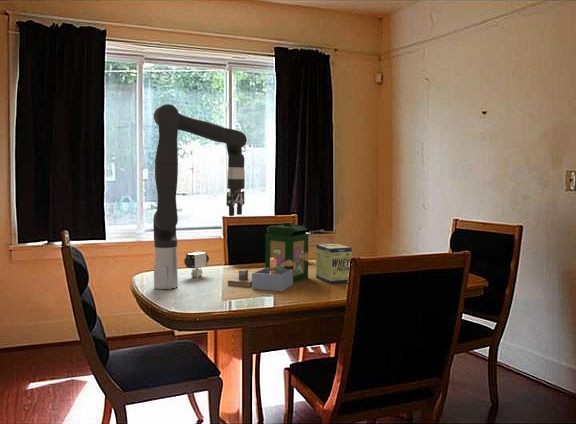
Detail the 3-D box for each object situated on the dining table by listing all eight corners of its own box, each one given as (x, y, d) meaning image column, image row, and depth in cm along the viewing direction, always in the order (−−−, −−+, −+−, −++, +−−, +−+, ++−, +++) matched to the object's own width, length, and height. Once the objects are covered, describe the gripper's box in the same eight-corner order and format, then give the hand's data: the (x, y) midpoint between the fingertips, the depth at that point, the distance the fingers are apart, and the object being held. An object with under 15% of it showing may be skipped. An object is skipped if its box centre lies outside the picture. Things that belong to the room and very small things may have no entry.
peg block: (282, 286, 235) (282, 259, 234) (268, 287, 233) (268, 259, 232) (278, 283, 241) (278, 256, 240) (264, 284, 239) (264, 257, 239)
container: (292, 283, 244) (292, 226, 242) (260, 278, 255) (260, 223, 253) (311, 278, 256) (311, 223, 254) (280, 273, 267) (280, 221, 265)
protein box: (330, 284, 243) (330, 248, 242) (315, 277, 257) (315, 244, 256) (352, 282, 247) (352, 247, 245) (335, 276, 261) (336, 243, 260)
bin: (281, 291, 229) (281, 275, 228) (252, 288, 233) (252, 273, 233) (292, 284, 241) (292, 269, 241) (264, 282, 246) (264, 267, 245)
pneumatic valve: (209, 275, 262) (209, 249, 261) (191, 279, 252) (191, 252, 251) (200, 274, 265) (200, 248, 264) (182, 278, 256) (182, 251, 255)
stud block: (249, 287, 237) (249, 272, 236) (227, 285, 240) (227, 271, 240) (258, 282, 246) (258, 268, 245) (237, 280, 249) (237, 267, 249)
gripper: (237, 178, 237) (237, 216, 238) (250, 178, 250) (249, 214, 251) (221, 177, 239) (220, 216, 240) (234, 177, 252) (234, 213, 254)
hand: (235, 215), depth 246 cm, fingers open, 8 cm apart
